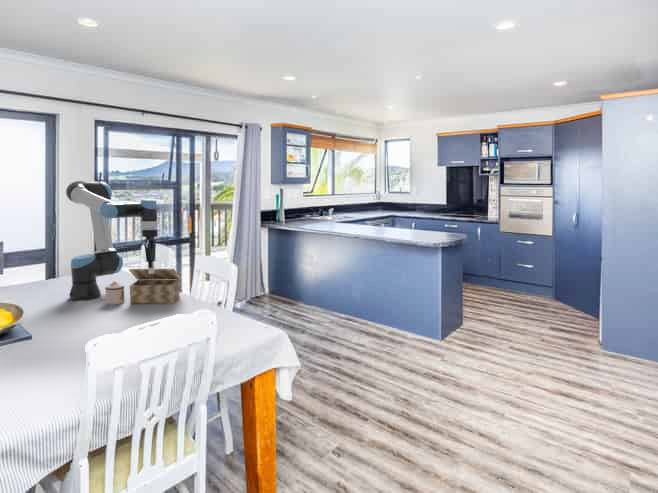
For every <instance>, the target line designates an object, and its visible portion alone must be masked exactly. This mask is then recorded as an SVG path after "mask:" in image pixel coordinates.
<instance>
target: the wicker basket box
mask: <svg viewBox="0 0 658 493" xmlns="http://www.w3.org/2000/svg"><path fill="white" fill-rule="evenodd" d="M179 298H180V279H160V280H137V279H136V281H135V282H132V283H131V284H130V285H129V299H130V305H149V304H151V305H157V304H160V305H161V303H162V305H163V304H164V303H165V305H167V304H169V305H170V303H171V304H175V303H176V302H177V300H179Z"/></svg>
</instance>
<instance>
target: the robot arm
mask: <svg viewBox="0 0 658 493" xmlns="http://www.w3.org/2000/svg"><path fill="white" fill-rule="evenodd" d="M65 195H66V197H67V198H68V200H70V202H72V203H74V204H78V205H84V206H85V207H87V208H88V209H89V212H90V213H89V214H90V217H91V218H90V219H91V225H92V230H93V238H94V242H95V243H94V244H95V248H96V250H95V251H94V253H93V254H92V253H88V254H87V253H86V254H81V255H77V256H74V257H73V258H71V260H70V269H71V282H72V283H71V289H70V292H69V294H68V295H69V300H72V301H88V300H93V299H94V300H95V299H98V298H100V297H102V294H101V289H100V287H99V285H98V282H97V277H103V276H108V275H109V276H110V275H114V274H118V273H120V272H121V270H122V269H123V266H124V259H123V257H122V254H120V253H119V252H118V251H117V249H116V248H114V245H113V244H114V243H113V239H112V233H111V227H110V221H109V219H121V218H123V219H124V218H141V229H142V230H141V235H142V237H143V238H145V241H144V244H143V245H144V246H143V247H144V250H145V259H146V260H145V262H147V269H148V274H154V269H155V262H156V261H157V259H156V247H157V241H156V240H155V238H156V237H158V236H159V235H158V233H159V232H158V225H159V222H158V206H157V200H156V199H152V198H151V199H144V198H143V199H141V200H140V202H135V201H133V202H115V201H112V197H113V192H112V188H111V187H110V185H109V184H107V183H106V182H104V181H94V180H93V181H91V180H90V181H89V180H88V181H87V180H82V181H81V180H78V181H76V180H75V181H74V182H71V183H70V184H69V185H68V186H67V187H66V190H65Z"/></svg>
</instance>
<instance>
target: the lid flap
mask: <svg viewBox="0 0 658 493" xmlns="http://www.w3.org/2000/svg"><path fill="white" fill-rule="evenodd" d="M128 271H129V272H130V273H131V275H133V277H134V278H135V279H136V281H137V280H181V277H180V275H179V274H178V272H177V271H176V269H175V268H154V274H148V268H129V269H128Z"/></svg>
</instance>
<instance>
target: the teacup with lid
mask: <svg viewBox="0 0 658 493" xmlns="http://www.w3.org/2000/svg"><path fill="white" fill-rule="evenodd" d="M104 289H105V297H106V304H107V305H108V306H109V305H111V306H113V305H114V306H115V305H116V306H117V305H121V304H124V303H125V285H124V284H121V283H119V282H117V281H116V280H114V281H112V282H111V283H110V284H108V285H106V286H105V287H104Z"/></svg>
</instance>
